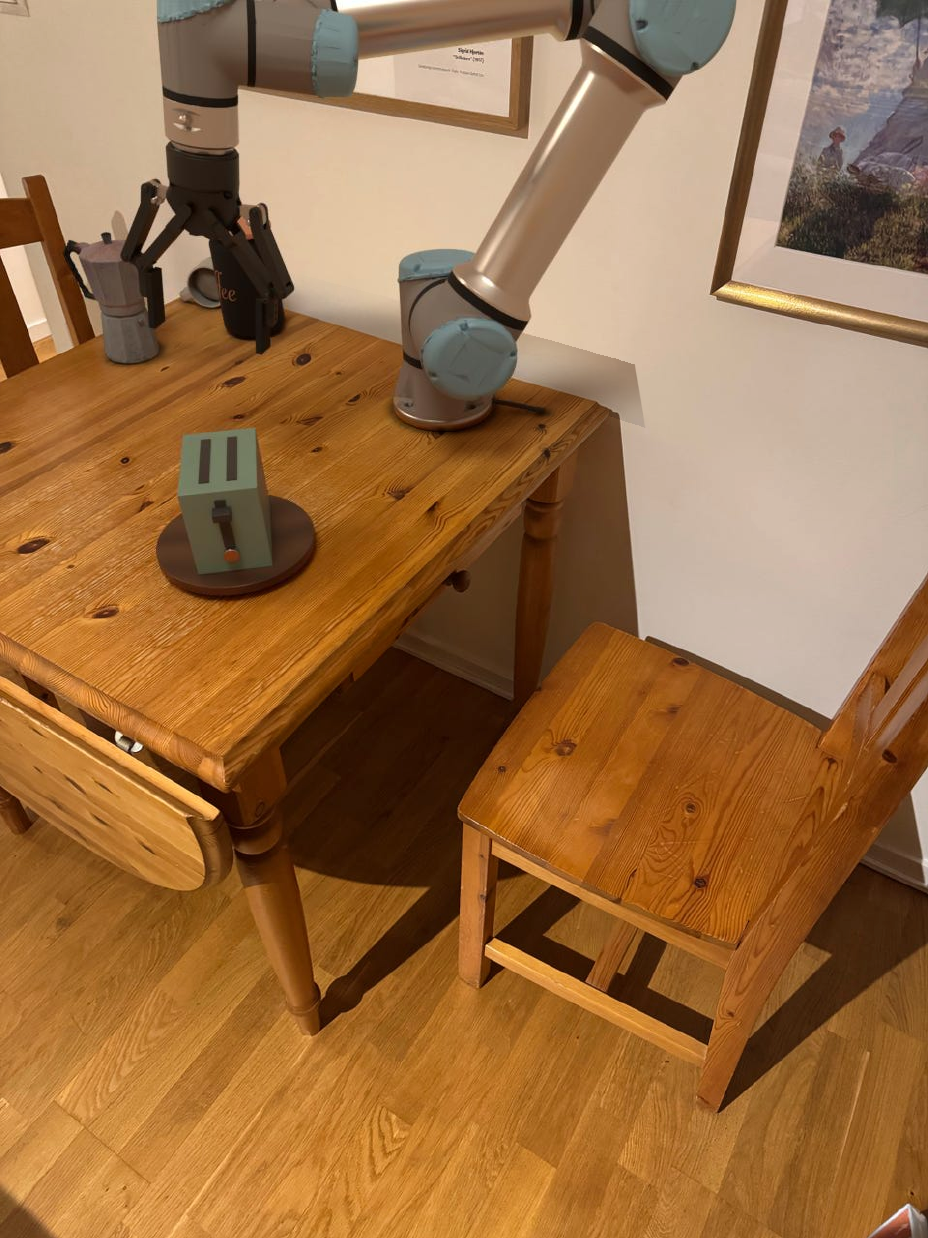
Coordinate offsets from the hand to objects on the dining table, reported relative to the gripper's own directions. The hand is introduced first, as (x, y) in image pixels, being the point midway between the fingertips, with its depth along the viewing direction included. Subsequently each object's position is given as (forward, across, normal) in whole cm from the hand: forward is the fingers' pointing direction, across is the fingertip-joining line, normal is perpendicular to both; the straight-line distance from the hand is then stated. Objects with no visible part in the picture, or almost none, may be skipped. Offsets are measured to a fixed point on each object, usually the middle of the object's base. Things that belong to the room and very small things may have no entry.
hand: (210, 337), depth 105 cm
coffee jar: (+20, -14, +47) cm, 53 cm away
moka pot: (+23, -31, +34) cm, 51 cm away
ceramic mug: (+21, -27, +58) cm, 67 cm away
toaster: (+19, +9, -14) cm, 25 cm away
